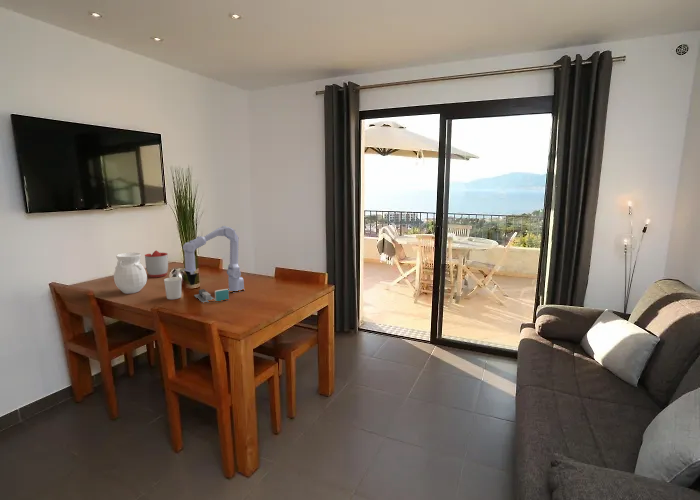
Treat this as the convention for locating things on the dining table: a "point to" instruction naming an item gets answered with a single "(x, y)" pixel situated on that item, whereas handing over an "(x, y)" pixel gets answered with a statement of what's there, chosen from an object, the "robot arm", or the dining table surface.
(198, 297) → the mat
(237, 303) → the dining table surface
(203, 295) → the two-tone grey bar
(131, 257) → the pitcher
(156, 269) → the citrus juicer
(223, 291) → the tile
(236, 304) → the dining table surface
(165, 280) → the candle holder
